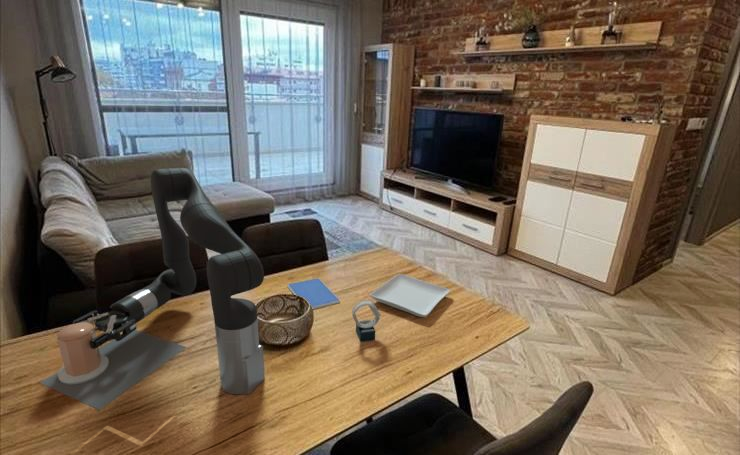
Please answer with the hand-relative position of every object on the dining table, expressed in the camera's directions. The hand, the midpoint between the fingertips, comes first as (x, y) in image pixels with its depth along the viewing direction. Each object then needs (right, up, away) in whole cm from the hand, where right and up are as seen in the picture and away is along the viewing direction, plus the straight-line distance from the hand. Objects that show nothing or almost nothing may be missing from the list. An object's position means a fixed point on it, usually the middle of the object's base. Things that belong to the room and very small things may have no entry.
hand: (77, 341), depth 93 cm
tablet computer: (+49, +3, +44) cm, 66 cm away
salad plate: (+83, +2, +43) cm, 93 cm away
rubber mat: (+6, -8, +6) cm, 11 cm away
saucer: (0, -8, +3) cm, 8 cm away
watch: (+68, -5, +22) cm, 71 cm away
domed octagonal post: (0, -7, +3) cm, 7 cm away
